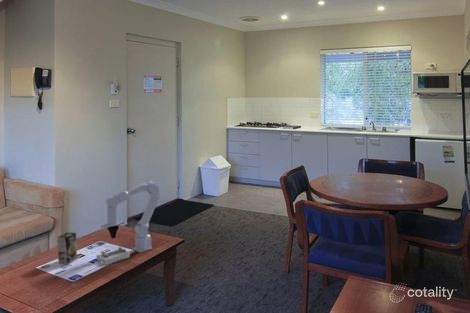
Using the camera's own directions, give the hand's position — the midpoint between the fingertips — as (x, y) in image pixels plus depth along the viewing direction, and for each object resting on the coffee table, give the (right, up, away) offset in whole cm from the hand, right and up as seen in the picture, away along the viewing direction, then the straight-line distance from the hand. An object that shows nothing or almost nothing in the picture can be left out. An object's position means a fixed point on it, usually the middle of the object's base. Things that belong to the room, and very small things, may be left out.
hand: (113, 237), depth 242 cm
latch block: (+2, -11, -5) cm, 13 cm away
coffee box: (-23, -12, -10) cm, 28 cm away
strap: (+2, -8, -6) cm, 10 cm away
